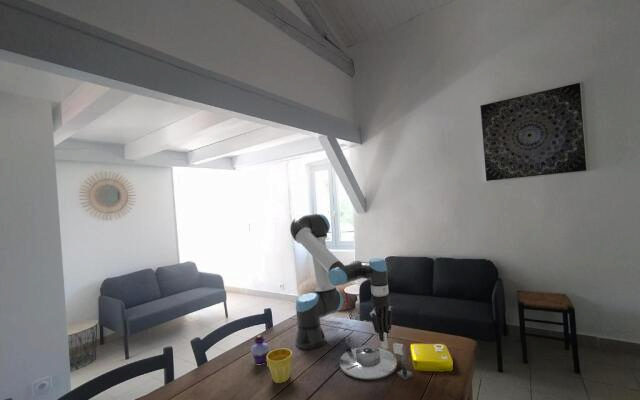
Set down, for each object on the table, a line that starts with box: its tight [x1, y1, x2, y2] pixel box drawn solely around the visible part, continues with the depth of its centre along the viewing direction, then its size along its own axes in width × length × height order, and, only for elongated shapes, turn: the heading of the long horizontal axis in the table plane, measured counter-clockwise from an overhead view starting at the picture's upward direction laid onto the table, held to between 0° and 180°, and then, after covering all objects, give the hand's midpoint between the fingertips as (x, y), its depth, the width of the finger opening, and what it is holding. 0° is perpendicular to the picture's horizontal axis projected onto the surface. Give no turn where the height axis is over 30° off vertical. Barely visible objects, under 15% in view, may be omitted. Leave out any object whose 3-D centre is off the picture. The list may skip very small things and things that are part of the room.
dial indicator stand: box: [392, 342, 414, 381], centre depth 115 cm, size 5×4×12 cm
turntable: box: [338, 336, 398, 381], centre depth 125 cm, size 27×24×6 cm
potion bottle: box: [249, 334, 270, 365], centre depth 134 cm, size 9×9×12 cm
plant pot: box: [266, 347, 293, 384], centre depth 119 cm, size 10×10×10 cm
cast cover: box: [356, 344, 381, 367], centre depth 124 cm, size 10×10×4 cm
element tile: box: [410, 343, 454, 372], centre depth 122 cm, size 15×15×5 cm
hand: (384, 347), depth 130 cm, fingers closed
